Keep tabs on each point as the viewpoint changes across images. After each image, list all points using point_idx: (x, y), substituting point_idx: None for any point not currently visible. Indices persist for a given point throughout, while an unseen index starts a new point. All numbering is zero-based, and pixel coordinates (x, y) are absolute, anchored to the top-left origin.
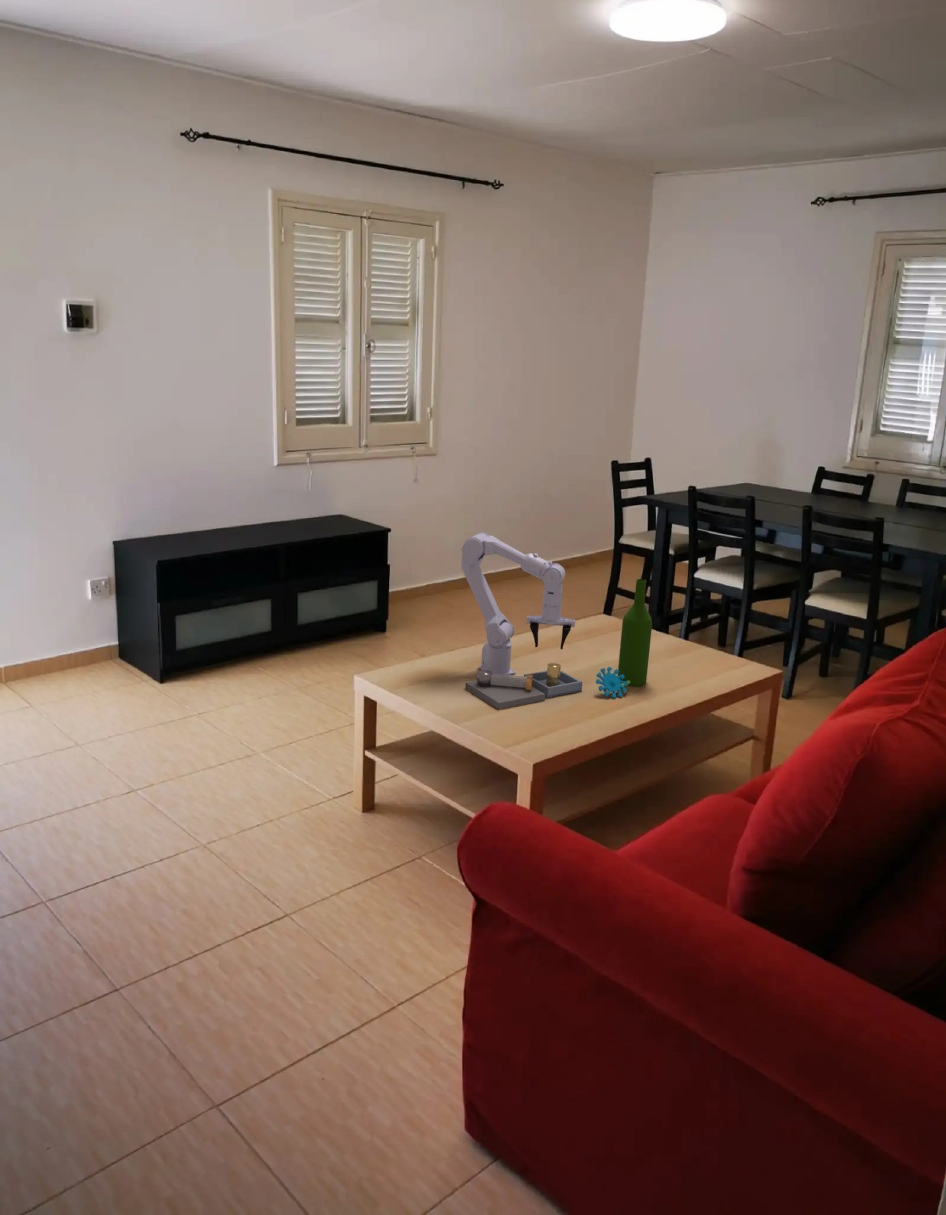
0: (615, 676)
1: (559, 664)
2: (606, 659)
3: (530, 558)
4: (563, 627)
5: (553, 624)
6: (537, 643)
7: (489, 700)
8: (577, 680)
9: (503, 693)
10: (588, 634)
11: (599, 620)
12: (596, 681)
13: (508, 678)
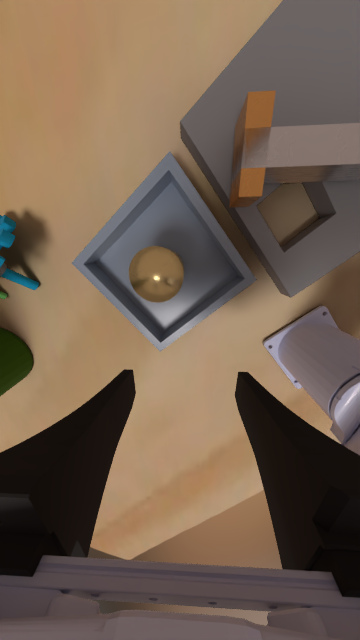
0: None
1: (137, 293)
2: None
3: None
4: (37, 526)
5: (150, 571)
6: (246, 381)
7: None
8: (88, 271)
9: (352, 62)
10: (134, 518)
11: (128, 552)
12: (7, 234)
13: (353, 126)
